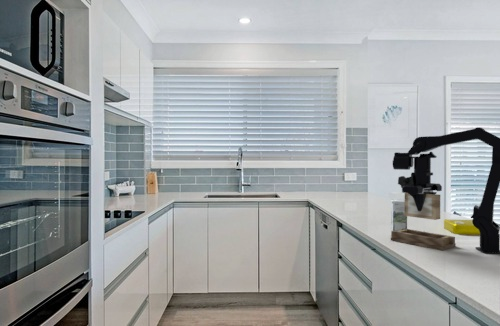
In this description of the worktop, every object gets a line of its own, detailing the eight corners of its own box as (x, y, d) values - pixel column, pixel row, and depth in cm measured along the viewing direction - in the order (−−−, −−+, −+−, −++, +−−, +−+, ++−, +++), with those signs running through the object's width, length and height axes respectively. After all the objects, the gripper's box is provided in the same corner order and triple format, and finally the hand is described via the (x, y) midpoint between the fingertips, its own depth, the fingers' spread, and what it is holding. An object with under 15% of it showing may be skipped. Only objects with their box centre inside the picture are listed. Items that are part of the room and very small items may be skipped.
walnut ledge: (455, 246, 131) (455, 236, 131) (442, 250, 125) (442, 240, 125) (404, 236, 147) (404, 228, 147) (390, 240, 141) (390, 231, 141)
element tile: (493, 236, 149) (493, 225, 149) (454, 235, 152) (454, 223, 152) (477, 229, 164) (477, 219, 164) (442, 228, 167) (442, 218, 167)
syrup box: (405, 232, 156) (405, 199, 155) (407, 235, 150) (407, 201, 150) (391, 231, 157) (391, 199, 157) (392, 234, 151) (392, 200, 151)
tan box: (440, 218, 132) (440, 194, 132) (435, 219, 130) (435, 195, 130) (409, 214, 142) (409, 192, 142) (404, 215, 140) (404, 192, 140)
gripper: (414, 169, 148) (414, 206, 148) (389, 169, 137) (389, 210, 137) (442, 169, 139) (442, 209, 139) (417, 170, 128) (417, 214, 128)
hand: (422, 210), depth 136 cm, fingers closed on tan box, 4 cm apart
